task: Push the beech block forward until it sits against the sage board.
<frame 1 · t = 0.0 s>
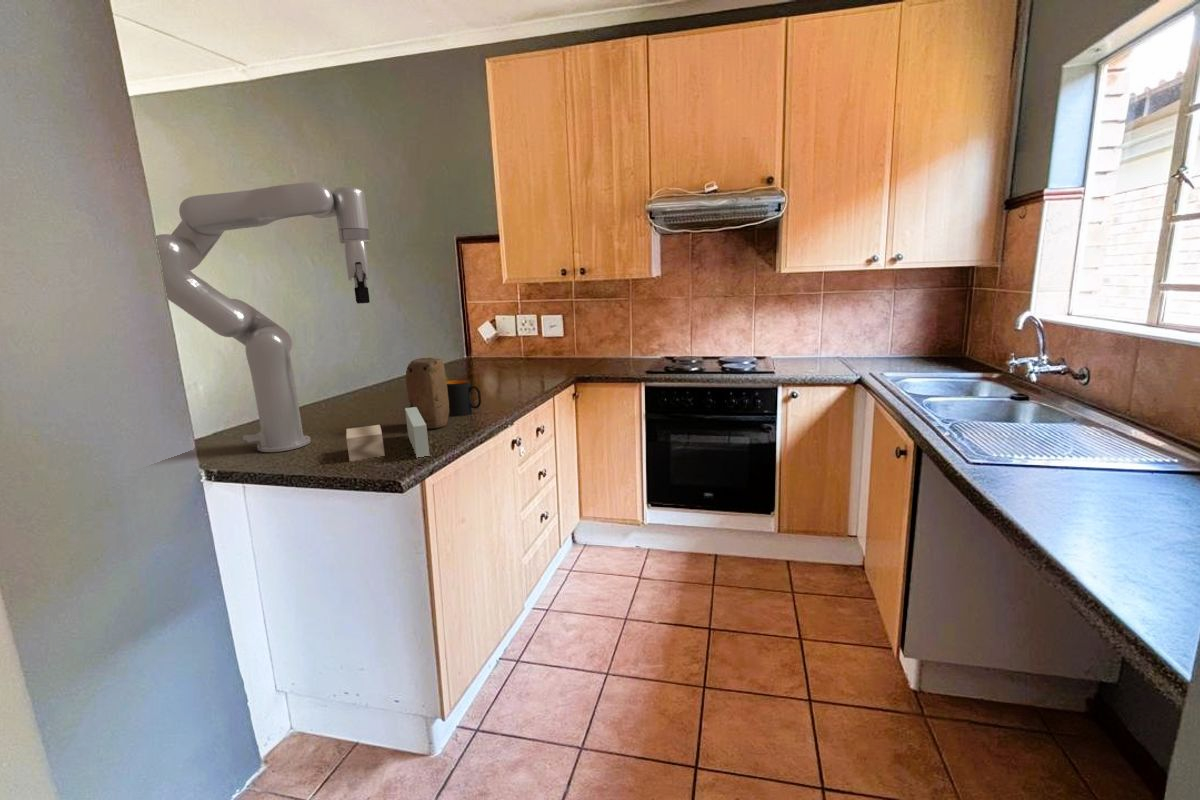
hand: (362, 302, 152), 37 cm above the worktop, tool pointing down, fingers open, 9 cm apart
bell pepper: (449, 404, 195), on the worktop
sage board: (418, 445, 147), on the worktop
beech block: (366, 454, 142), on the worktop
mug: (464, 413, 180), on the worktop
brown rounded tall lump: (430, 426, 166), on the worktop
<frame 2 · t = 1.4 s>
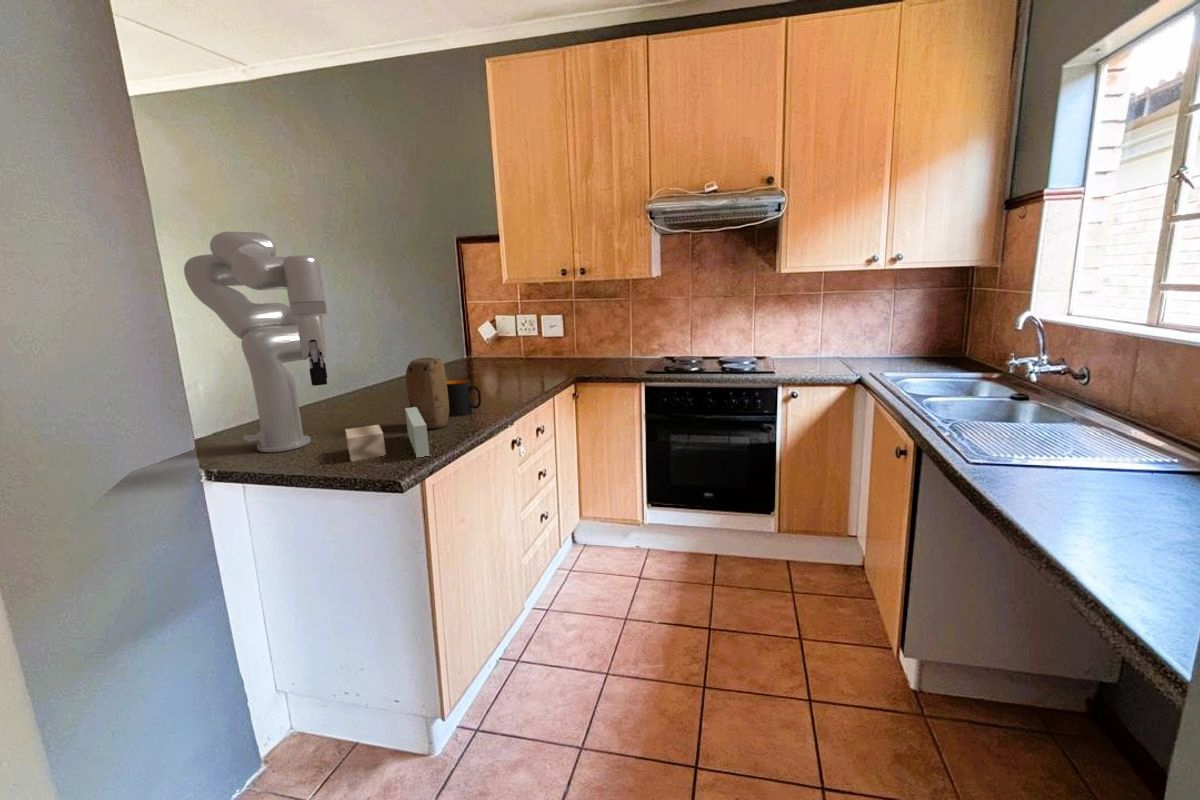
hand: (320, 382, 135), 19 cm above the worktop, tool pointing down, fingers open, 9 cm apart
nothing on the worktop moved.
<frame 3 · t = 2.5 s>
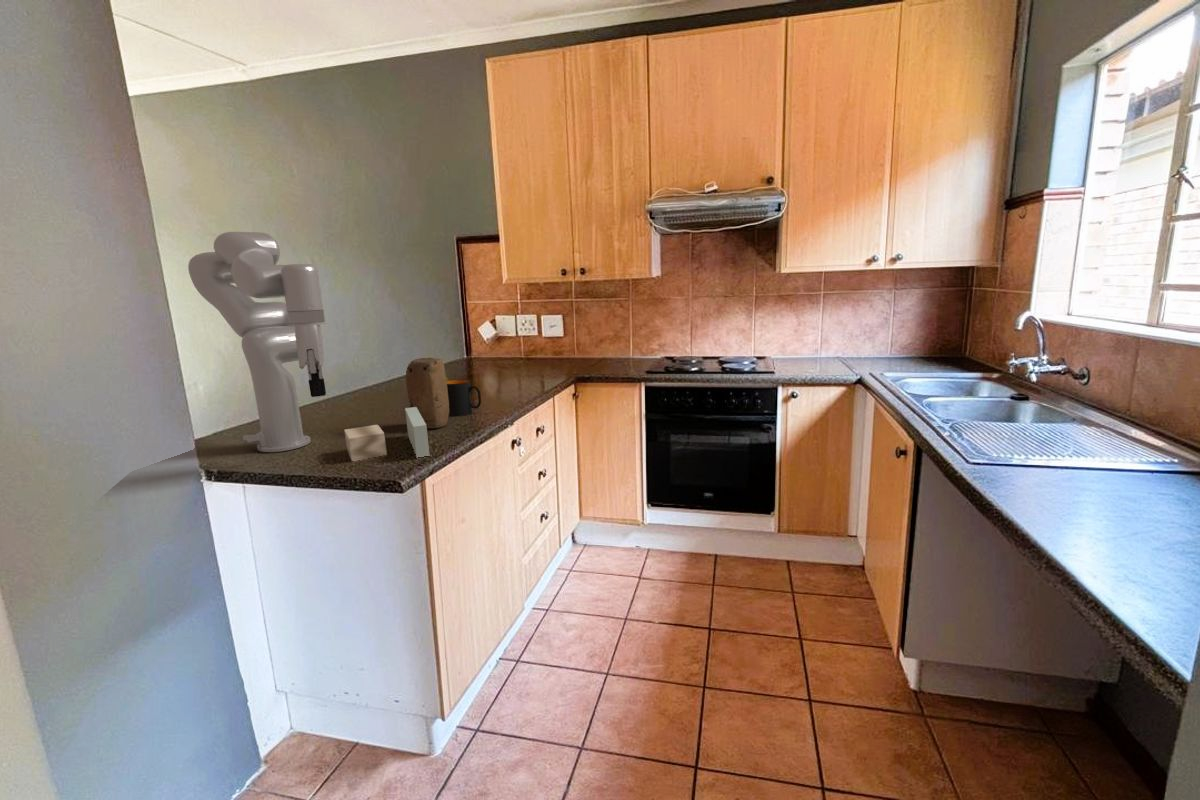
hand: (318, 395, 135), 16 cm above the worktop, tool pointing down, fingers closed
nothing on the worktop moved.
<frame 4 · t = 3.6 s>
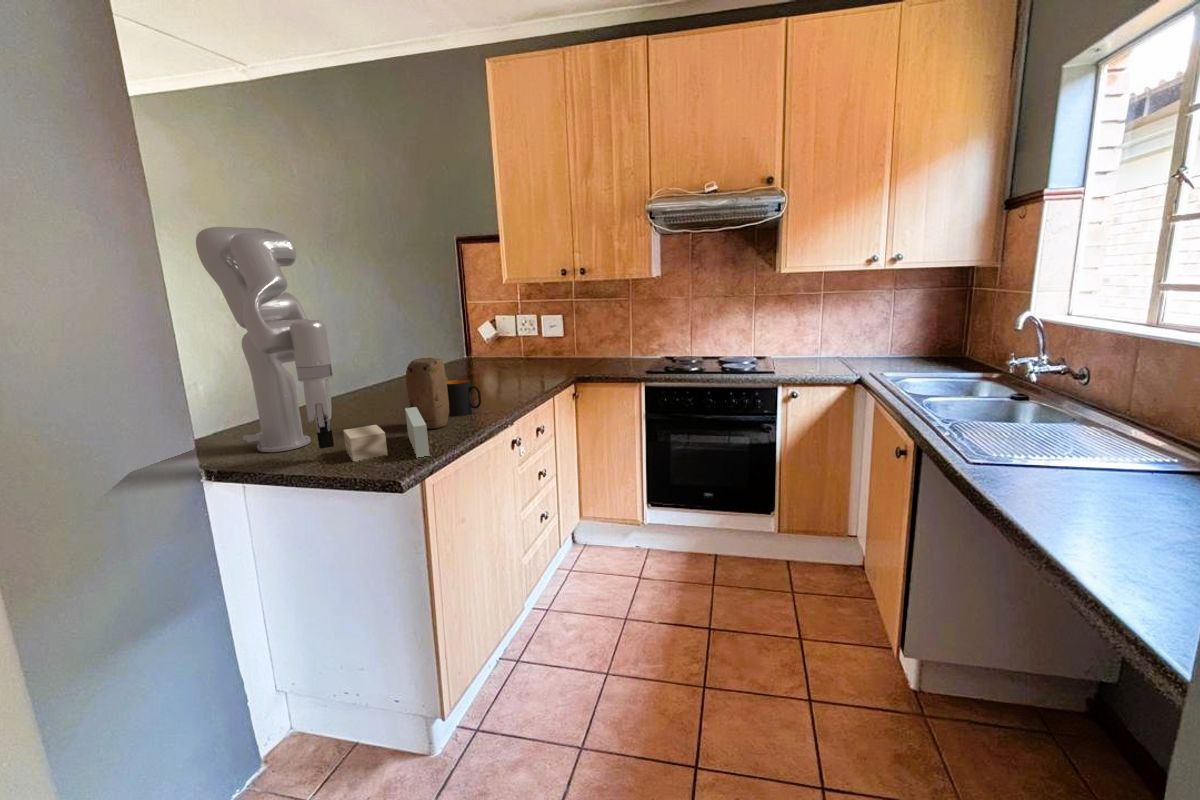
hand: (326, 446, 137), 3 cm above the worktop, tool pointing down, fingers closed
nothing on the worktop moved.
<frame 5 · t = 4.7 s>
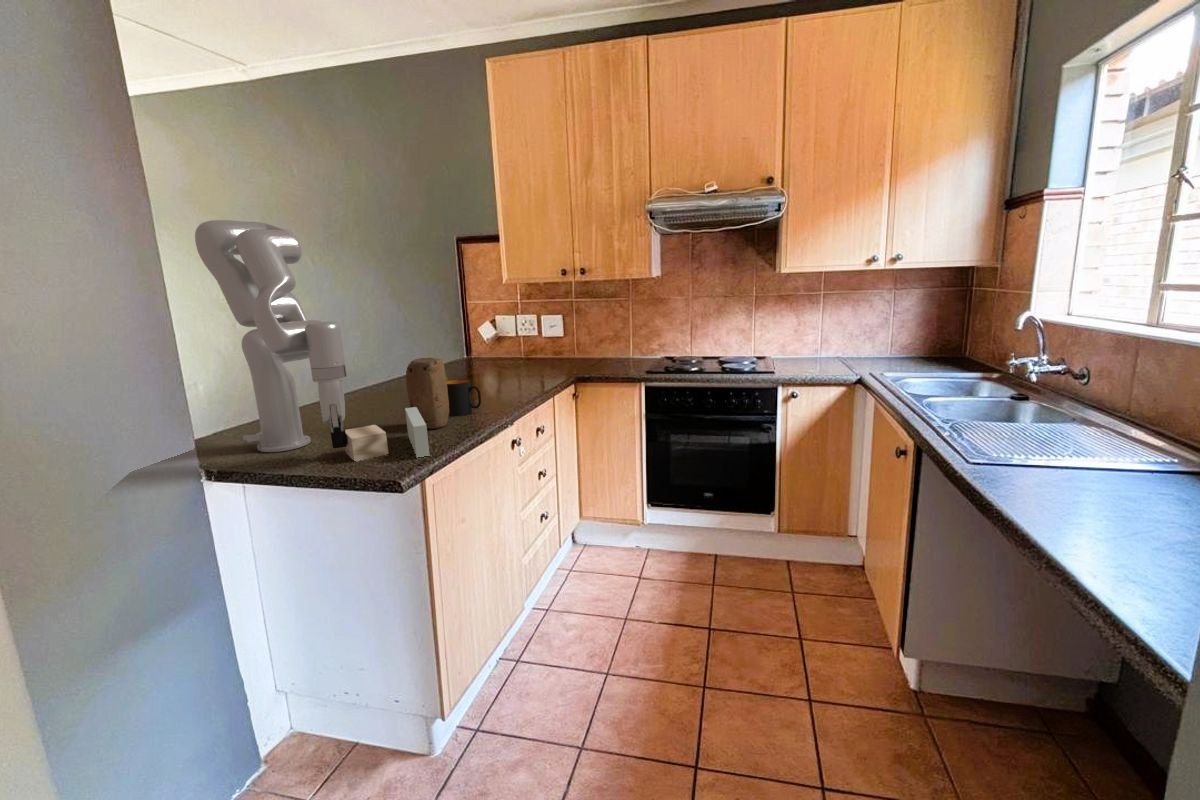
hand: (340, 446, 139), 3 cm above the worktop, tool pointing down, fingers closed
beech block: (366, 454, 142), on the worktop, touching gripper
everything else where it was.
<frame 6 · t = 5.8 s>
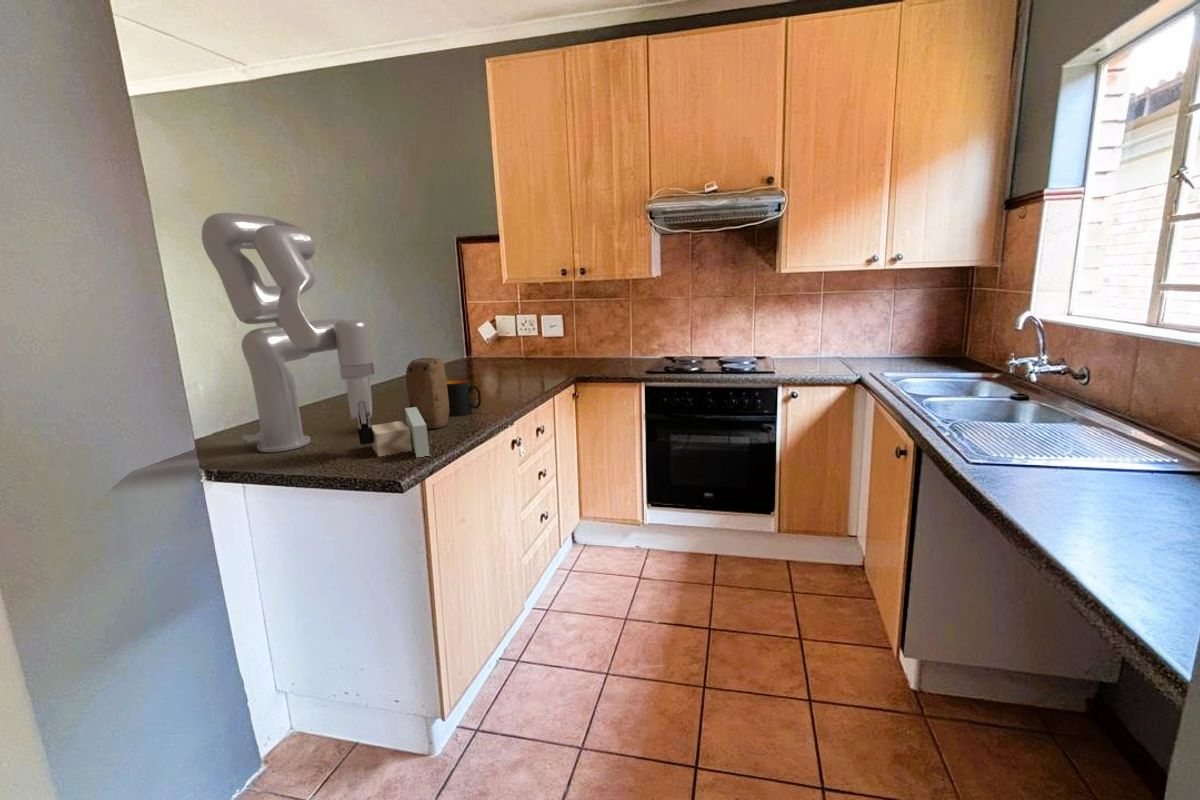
hand: (367, 442, 141), 3 cm above the worktop, tool pointing down, fingers closed
beech block: (391, 449, 145), on the worktop, touching gripper
everything else where it was.
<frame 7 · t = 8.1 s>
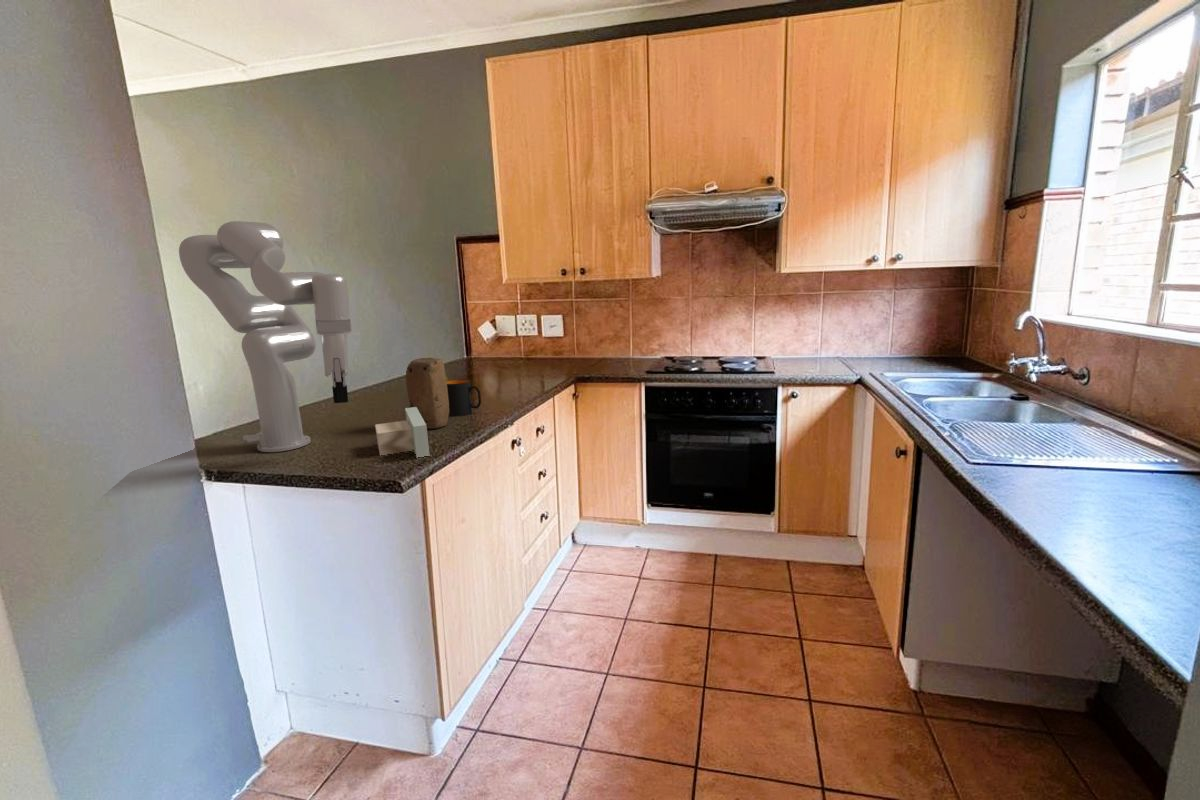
hand: (341, 401, 138), 14 cm above the worktop, tool pointing down, fingers closed
beech block: (395, 449, 145), on the worktop
everything else where it was.
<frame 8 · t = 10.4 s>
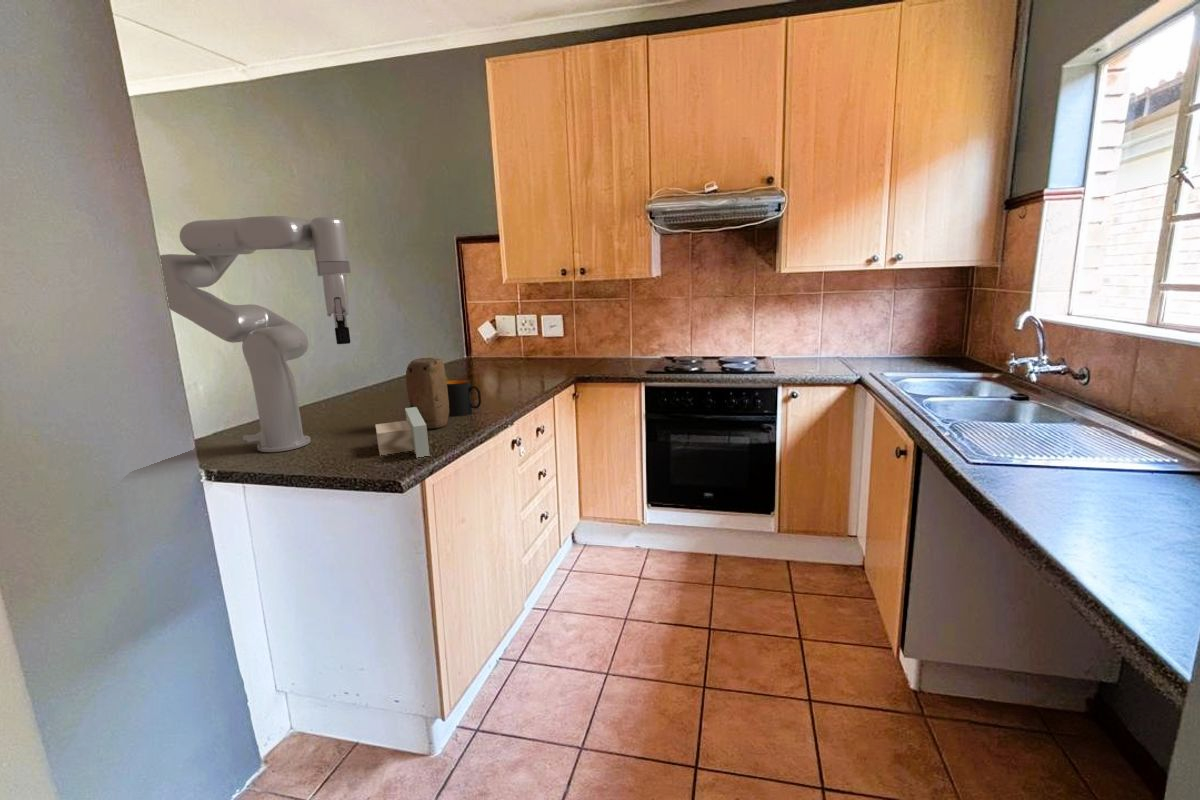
hand: (343, 343, 143), 27 cm above the worktop, tool pointing down, fingers closed
nothing on the worktop moved.
at the end: beech block 0.8 cm from the target spot on the worktop beside the sage board, on the worktop; beech block tilted 0° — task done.
